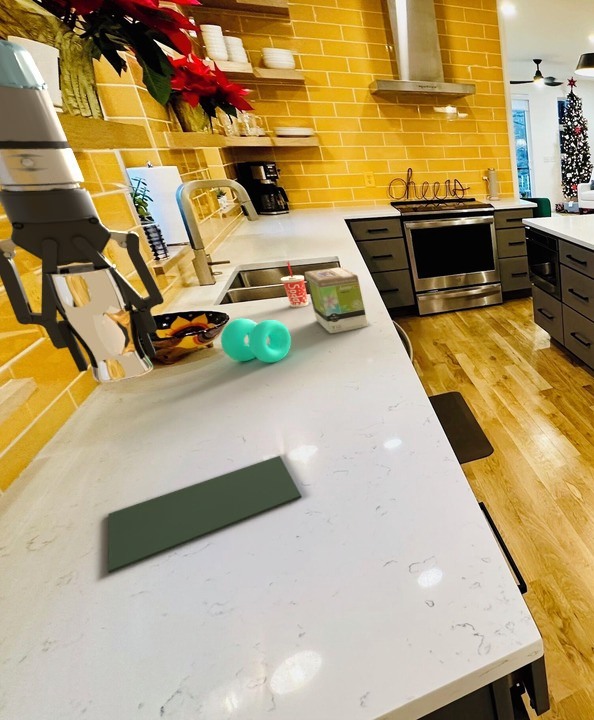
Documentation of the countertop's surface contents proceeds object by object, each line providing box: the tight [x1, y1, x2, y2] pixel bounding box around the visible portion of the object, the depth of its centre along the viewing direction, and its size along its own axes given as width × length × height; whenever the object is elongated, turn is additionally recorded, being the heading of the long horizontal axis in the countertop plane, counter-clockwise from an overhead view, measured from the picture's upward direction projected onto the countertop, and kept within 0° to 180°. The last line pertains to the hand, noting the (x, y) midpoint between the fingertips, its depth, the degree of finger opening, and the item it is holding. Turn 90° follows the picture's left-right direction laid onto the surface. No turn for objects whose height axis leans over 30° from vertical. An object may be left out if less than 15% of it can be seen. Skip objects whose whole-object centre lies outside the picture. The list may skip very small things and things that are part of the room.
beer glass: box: [45, 263, 154, 383], centre depth 68 cm, size 7×7×15 cm
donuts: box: [220, 318, 292, 364], centre depth 116 cm, size 10×10×10 cm
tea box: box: [304, 266, 369, 334], centre depth 139 cm, size 15×10×15 cm, turn 43°
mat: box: [107, 455, 303, 574], centre depth 70 cm, size 14×20×1 cm
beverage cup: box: [280, 261, 309, 308], centre depth 155 cm, size 6×6×14 cm
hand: (119, 360), depth 70 cm, fingers closed on beer glass, 6 cm apart
